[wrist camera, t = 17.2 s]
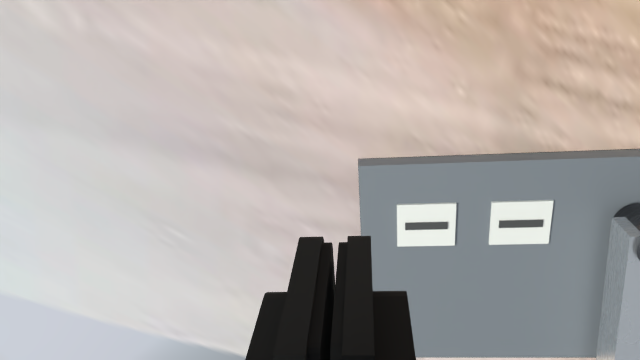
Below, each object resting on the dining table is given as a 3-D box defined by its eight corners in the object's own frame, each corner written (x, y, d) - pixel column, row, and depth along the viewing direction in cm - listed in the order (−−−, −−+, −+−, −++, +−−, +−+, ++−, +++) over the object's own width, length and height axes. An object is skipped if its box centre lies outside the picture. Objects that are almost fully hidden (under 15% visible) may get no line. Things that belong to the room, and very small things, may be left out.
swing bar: (606, 205, 38) (635, 234, 34) (665, 201, 37) (701, 230, 33) (583, 422, 46) (604, 467, 42) (630, 421, 46) (656, 466, 42)
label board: (661, 148, 38) (675, 156, 36) (622, 345, 45) (632, 360, 43) (358, 158, 40) (358, 167, 38) (365, 345, 47) (365, 359, 45)
